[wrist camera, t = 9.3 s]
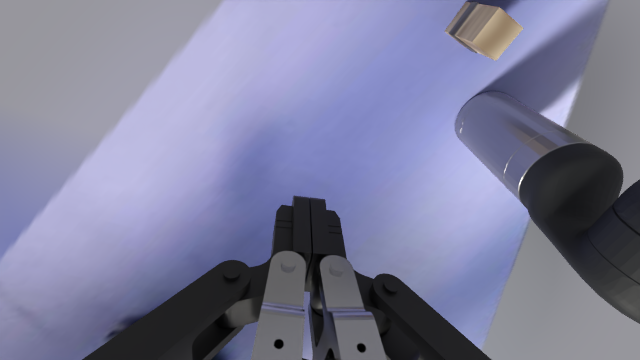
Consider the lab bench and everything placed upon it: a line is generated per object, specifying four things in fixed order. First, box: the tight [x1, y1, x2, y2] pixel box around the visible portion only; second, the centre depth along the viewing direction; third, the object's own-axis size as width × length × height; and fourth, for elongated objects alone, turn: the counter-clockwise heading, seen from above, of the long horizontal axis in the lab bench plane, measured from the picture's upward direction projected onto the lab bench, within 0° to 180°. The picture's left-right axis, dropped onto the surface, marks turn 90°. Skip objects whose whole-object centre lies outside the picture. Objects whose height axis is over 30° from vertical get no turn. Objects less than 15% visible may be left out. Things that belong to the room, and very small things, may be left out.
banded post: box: [445, 2, 523, 61], centre depth 38 cm, size 4×4×8 cm
